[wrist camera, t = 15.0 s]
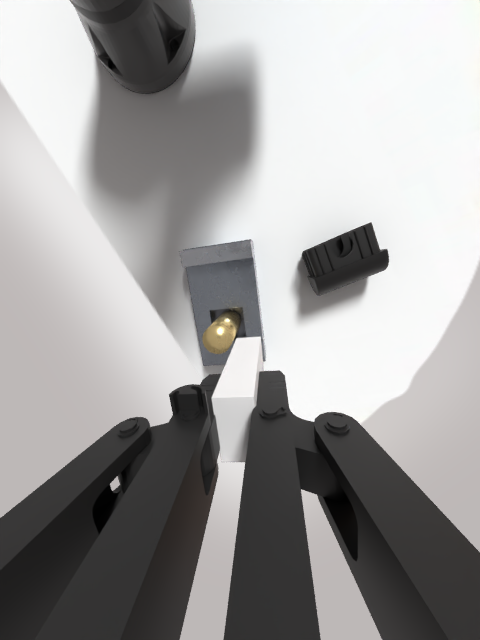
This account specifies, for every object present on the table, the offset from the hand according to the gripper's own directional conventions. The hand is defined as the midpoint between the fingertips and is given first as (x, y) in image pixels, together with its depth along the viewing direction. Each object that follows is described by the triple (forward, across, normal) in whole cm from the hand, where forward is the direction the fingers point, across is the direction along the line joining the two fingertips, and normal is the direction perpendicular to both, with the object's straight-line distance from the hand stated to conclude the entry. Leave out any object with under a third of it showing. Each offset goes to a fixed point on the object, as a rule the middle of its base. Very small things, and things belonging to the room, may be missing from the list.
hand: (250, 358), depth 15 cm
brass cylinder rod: (+26, -6, -4) cm, 27 cm away
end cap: (+28, +12, +4) cm, 31 cm away
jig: (+27, -6, -1) cm, 28 cm away
